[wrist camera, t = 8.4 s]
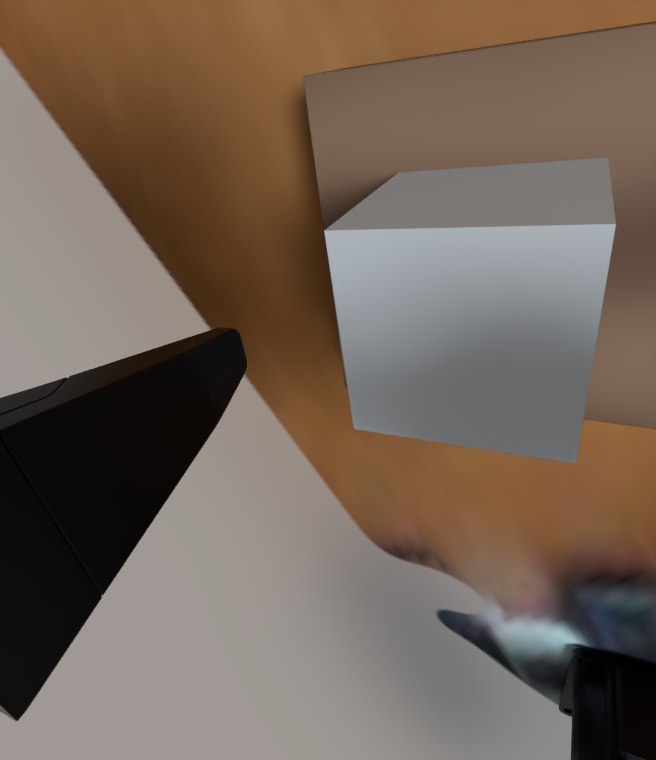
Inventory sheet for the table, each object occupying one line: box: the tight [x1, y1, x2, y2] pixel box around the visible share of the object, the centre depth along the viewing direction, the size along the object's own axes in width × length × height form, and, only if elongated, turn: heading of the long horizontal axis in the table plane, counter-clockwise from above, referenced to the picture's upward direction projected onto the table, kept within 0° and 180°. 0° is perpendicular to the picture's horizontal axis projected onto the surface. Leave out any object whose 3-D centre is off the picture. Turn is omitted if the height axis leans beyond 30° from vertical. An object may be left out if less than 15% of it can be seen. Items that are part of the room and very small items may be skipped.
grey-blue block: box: [324, 158, 616, 464], centre depth 12 cm, size 5×5×5 cm
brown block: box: [303, 21, 656, 429], centre depth 15 cm, size 10×10×3 cm
